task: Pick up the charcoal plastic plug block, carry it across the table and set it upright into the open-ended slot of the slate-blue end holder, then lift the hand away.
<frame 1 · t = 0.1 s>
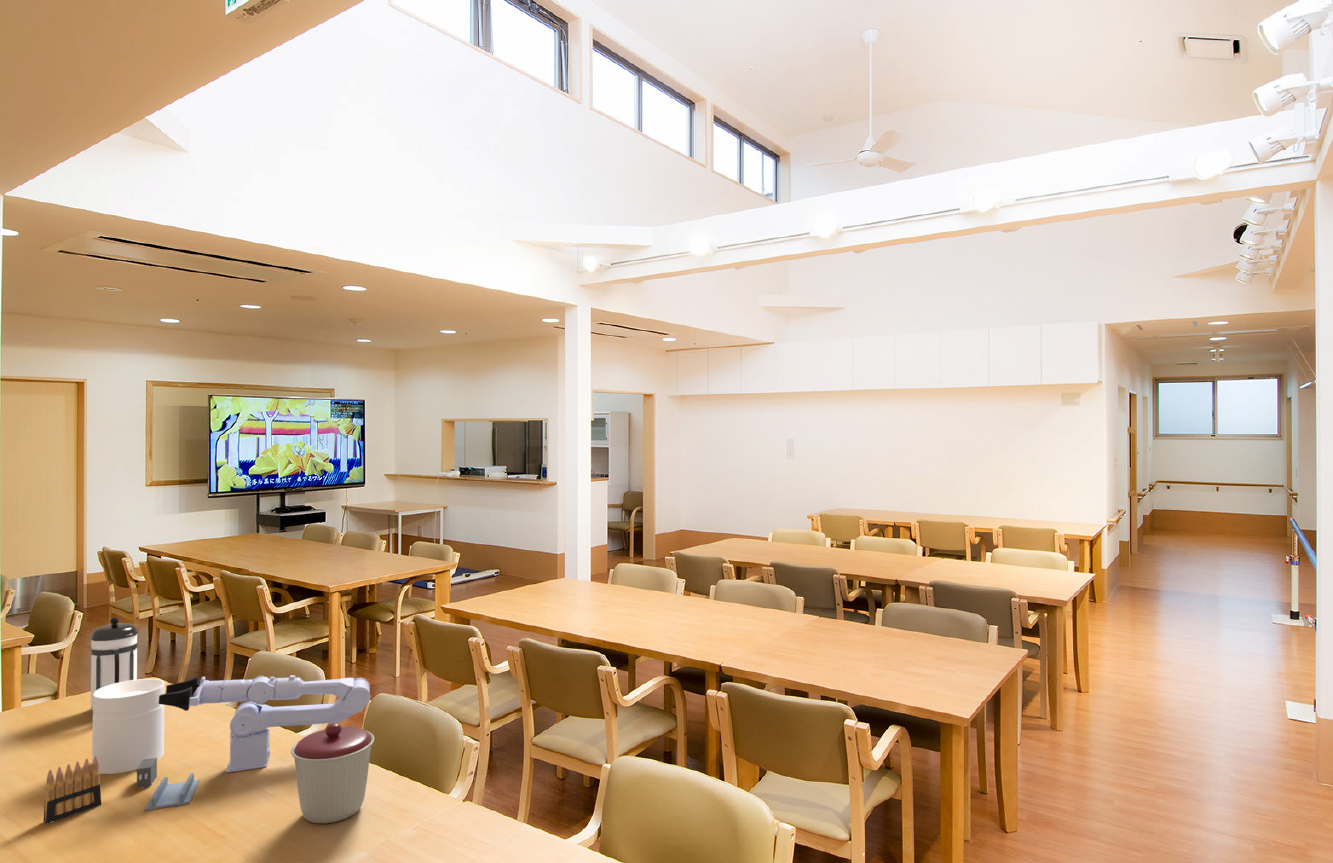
hand: (162, 694, 193), 22 cm above the table, tool horizontal, fingers open, 7 cm apart
charcoal plug: (146, 782, 190), on the table
end holder: (173, 795, 183), on the table
canister: (128, 761, 203), on the table
coffee press: (115, 710, 241), on the table
canister 2: (333, 813, 175), on the table
ammunition clip: (72, 814, 175), on the table
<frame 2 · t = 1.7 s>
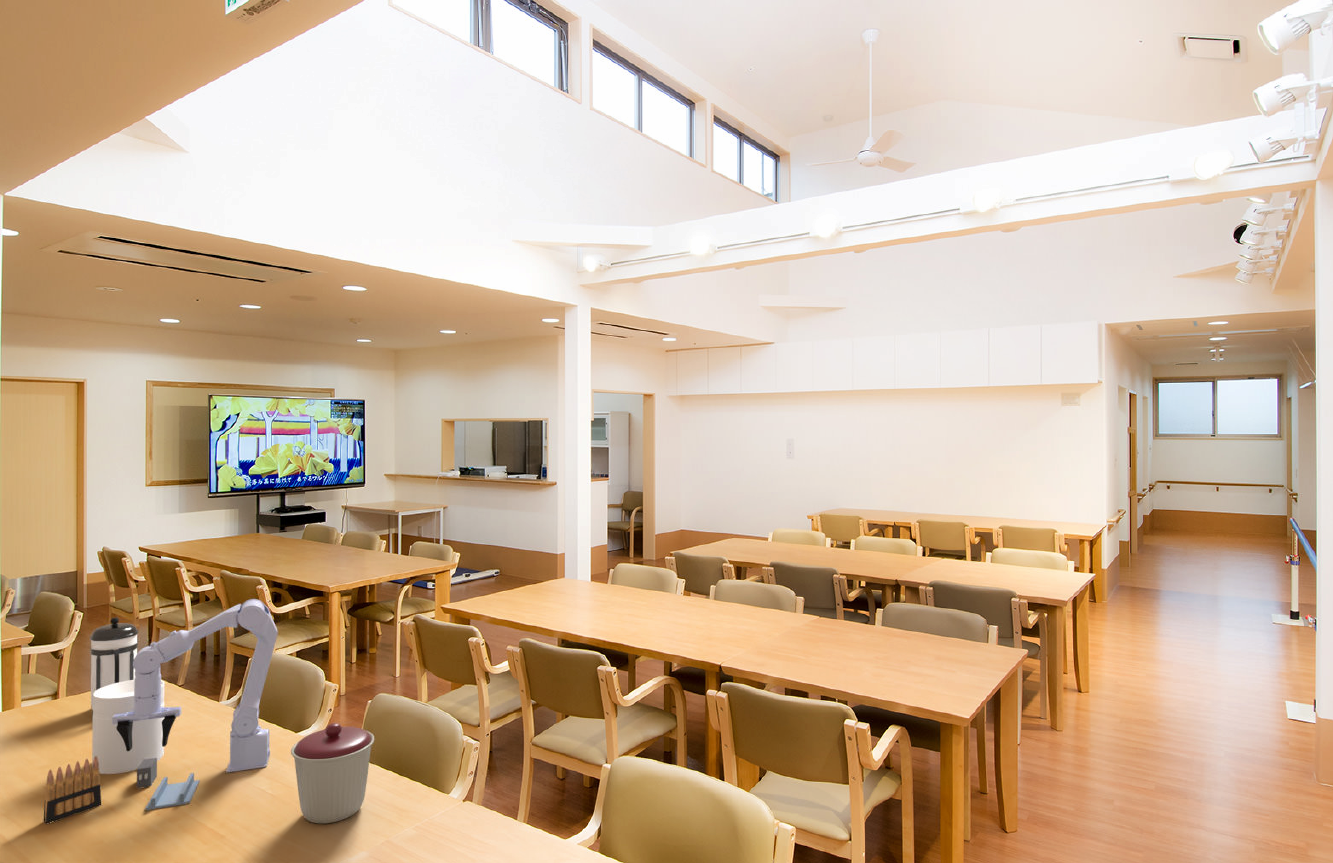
hand: (147, 747, 190), 9 cm above the table, tool pointing down, fingers open, 7 cm apart
nothing on the table moved.
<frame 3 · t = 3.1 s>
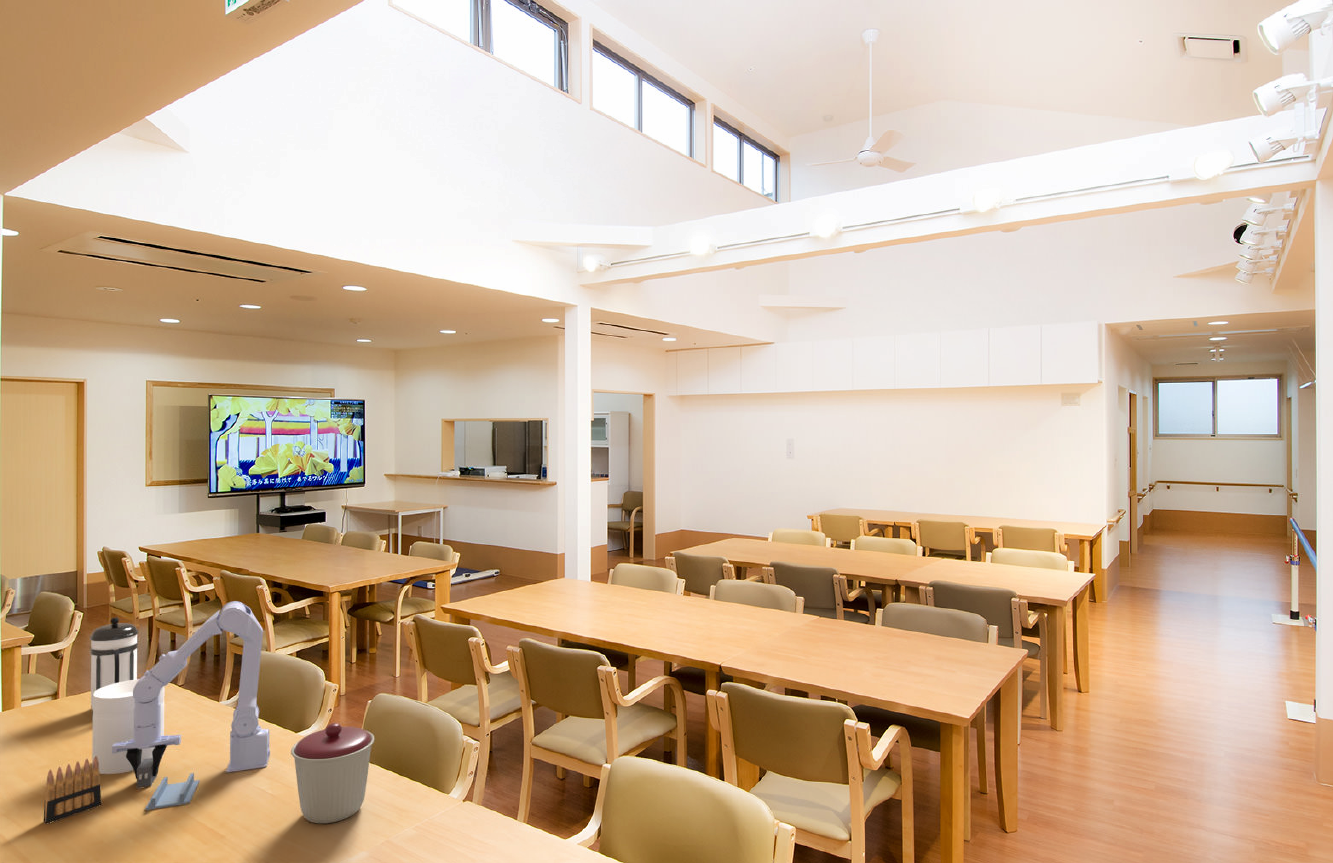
hand: (147, 776, 190), 2 cm above the table, tool pointing down, fingers closed on charcoal plug, 3 cm apart
charcoal plug: (146, 782, 190), on the table, touching gripper
everything else where it was.
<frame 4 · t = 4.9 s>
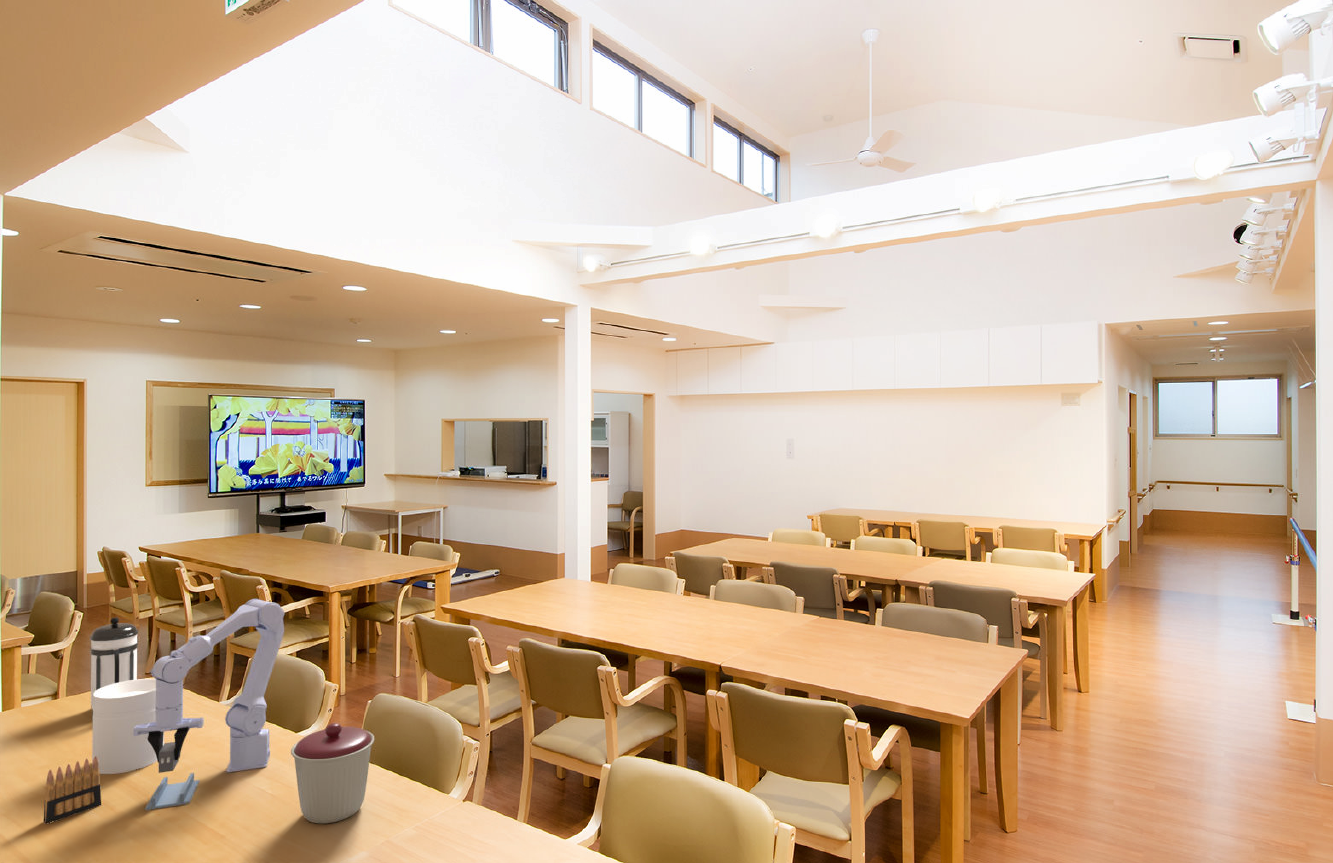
hand: (168, 759, 184), 8 cm above the table, tool pointing down, fingers closed on charcoal plug, 3 cm apart
charcoal plug: (168, 767, 185), point 7 cm above the table, touching gripper
everything else where it was.
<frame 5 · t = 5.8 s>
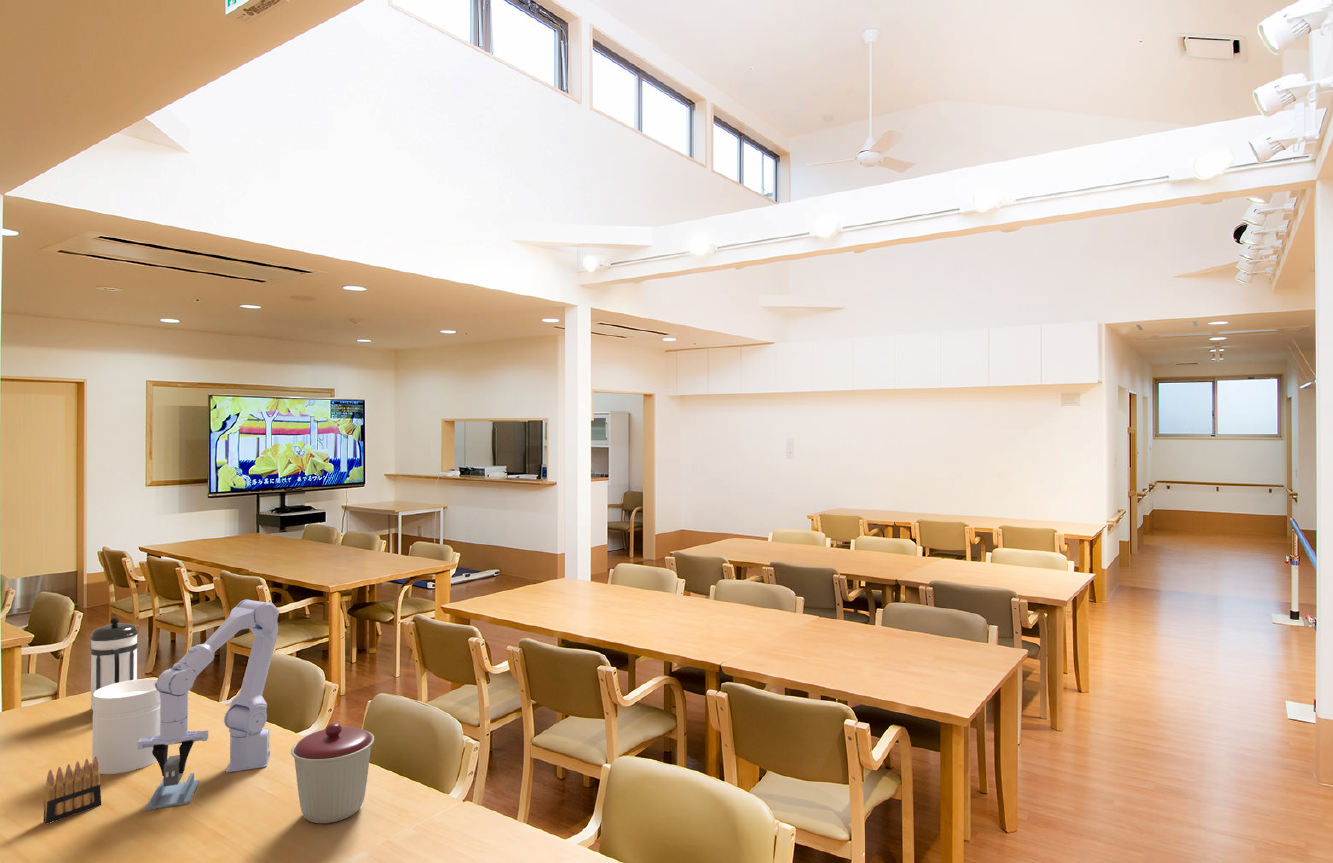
hand: (173, 773, 183), 6 cm above the table, tool pointing down, fingers closed on charcoal plug, 3 cm apart
charcoal plug: (173, 780, 183), point 4 cm above the table, touching gripper
everything else where it was.
when the fingers open (3 cm above the table, at t = 6.6 s): charcoal plug stays where it is, resting on end holder.
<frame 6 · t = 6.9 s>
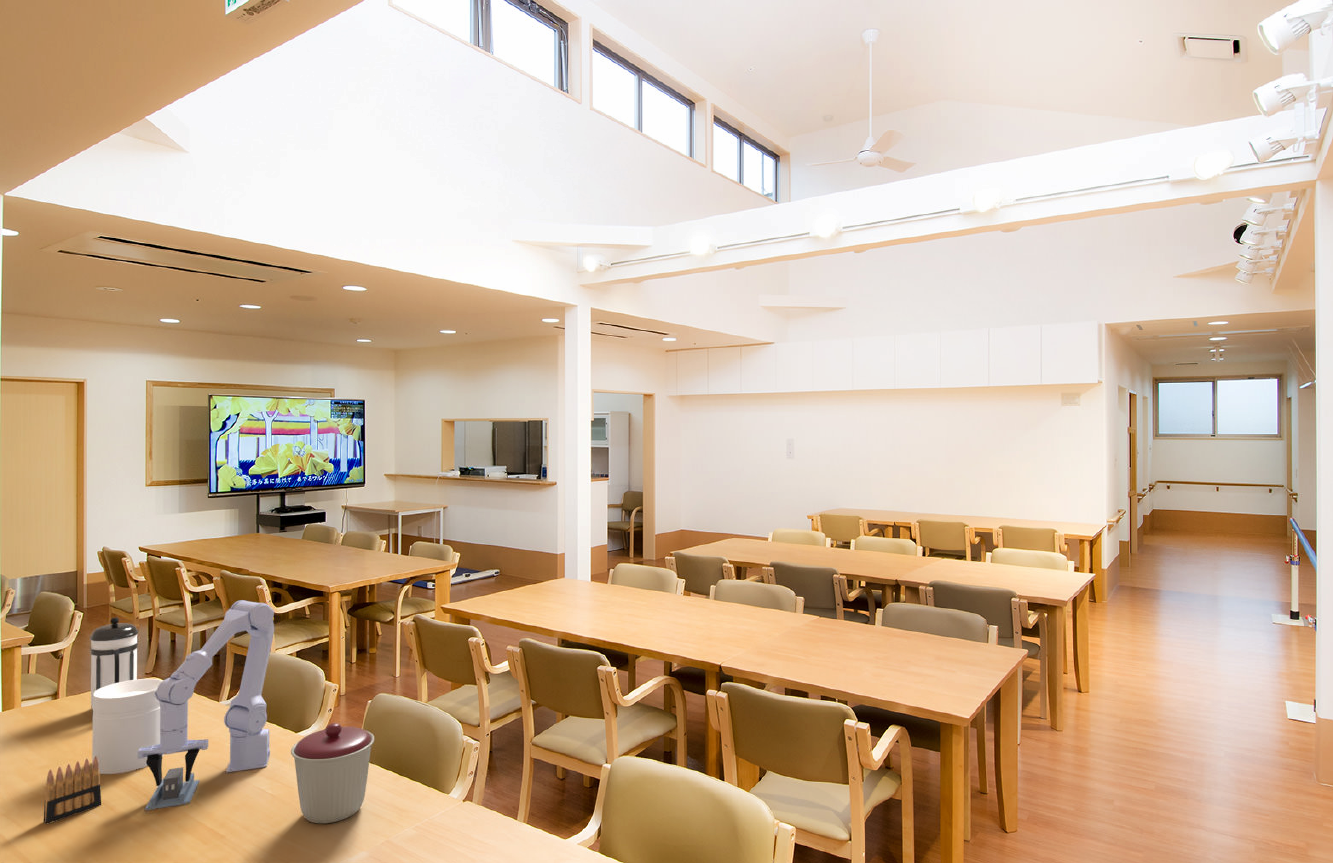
hand: (173, 782, 183), 3 cm above the table, tool pointing down, fingers open, 5 cm apart
charcoal plug: (173, 793, 183), point 1 cm above the table, touching end holder
everything else where it was.
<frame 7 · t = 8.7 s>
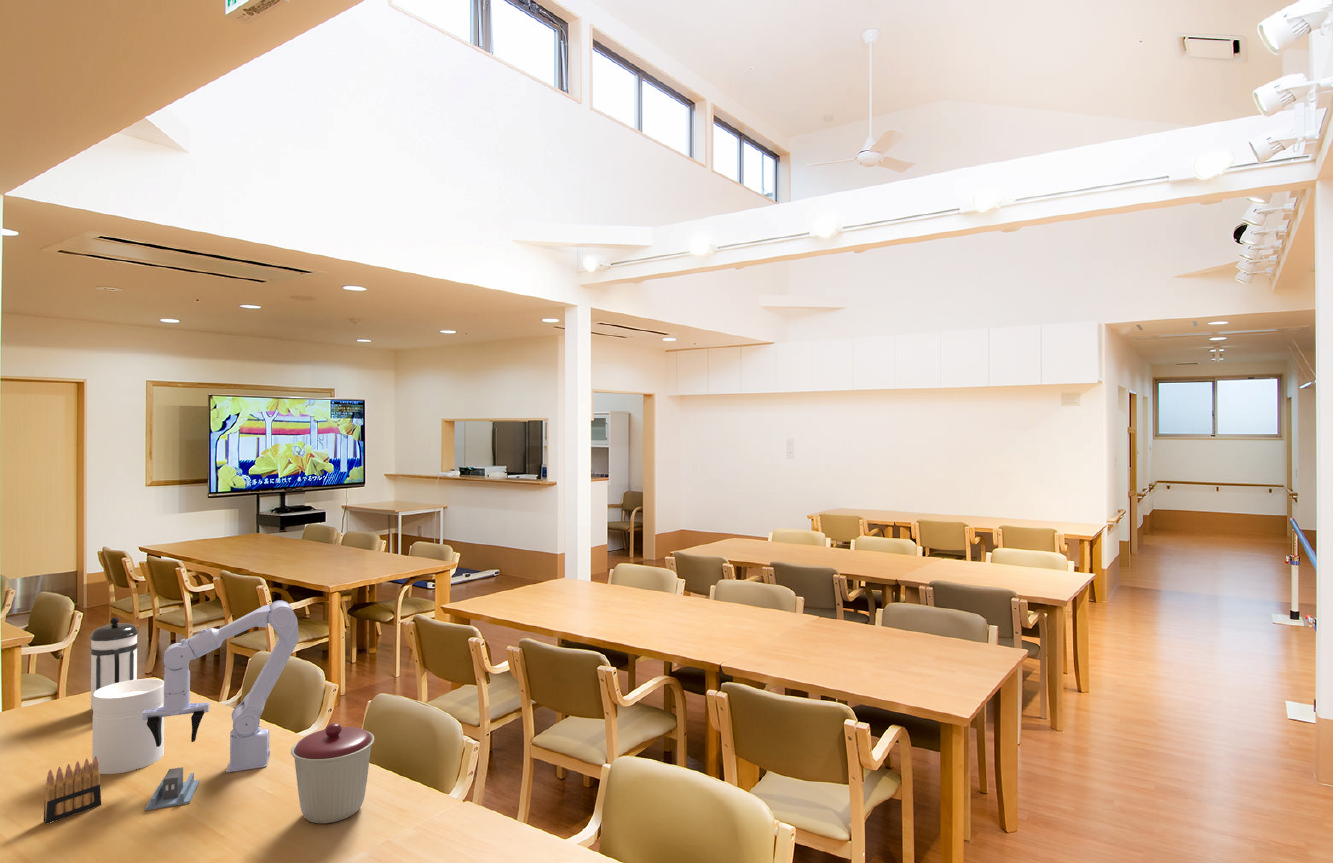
hand: (176, 743, 192), 9 cm above the table, tool pointing down, fingers open, 7 cm apart
nothing on the table moved.
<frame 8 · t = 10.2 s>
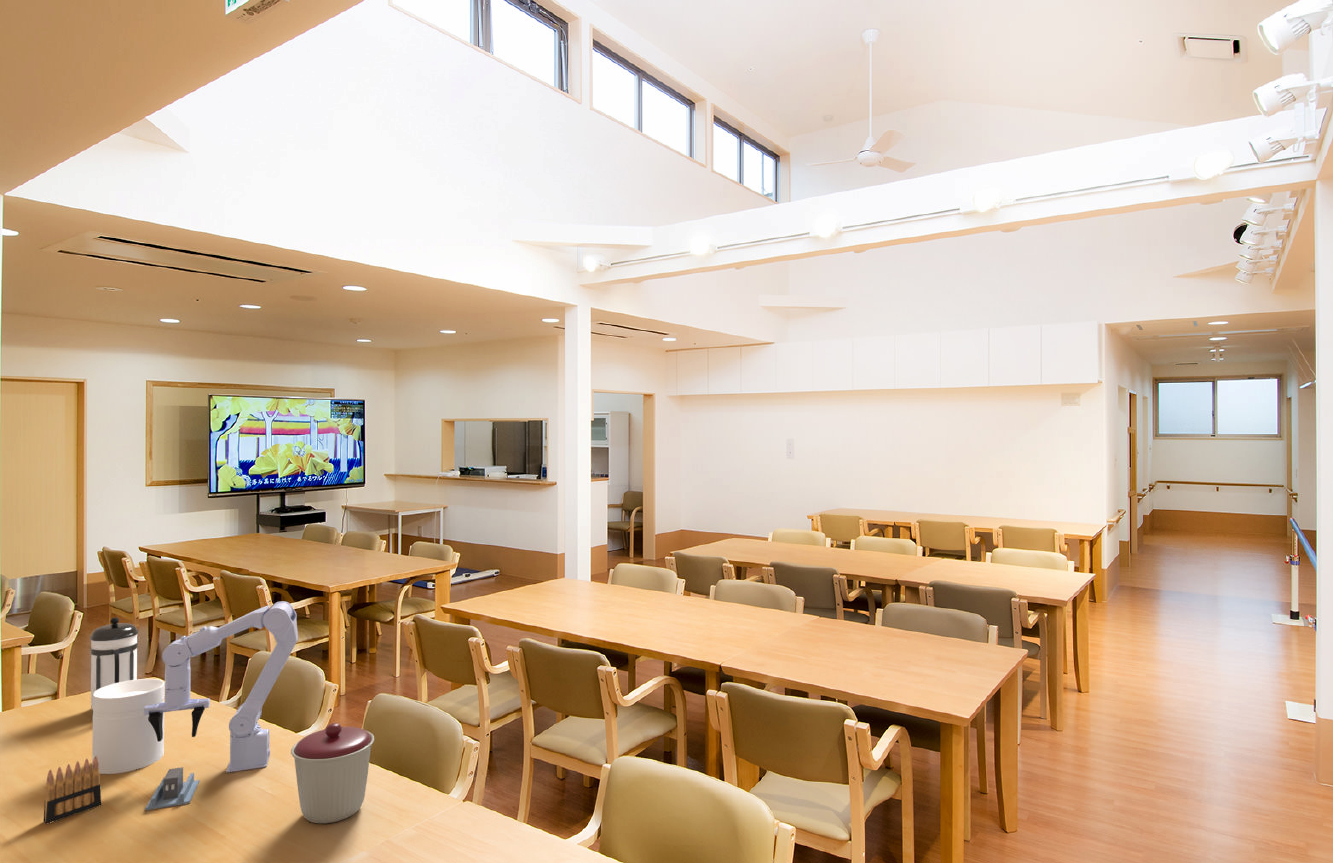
hand: (177, 738, 195), 9 cm above the table, tool pointing down, fingers open, 7 cm apart
nothing on the table moved.
at the end: charcoal plug inside the target area on the end holder (0.0 cm from its centre), point 0.6 cm above the end holder's base; charcoal plug tilted 0°; the gripper is holding nothing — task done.
